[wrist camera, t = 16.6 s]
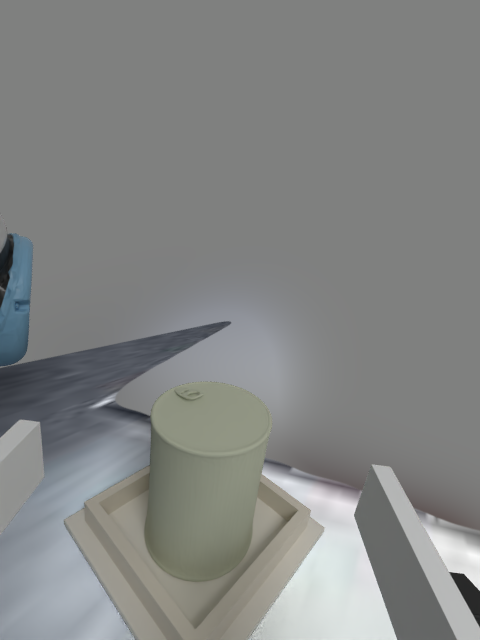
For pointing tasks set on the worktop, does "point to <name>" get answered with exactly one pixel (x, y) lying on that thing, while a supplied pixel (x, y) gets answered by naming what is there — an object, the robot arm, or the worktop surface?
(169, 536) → the can
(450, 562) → the worktop surface
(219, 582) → the square tray
